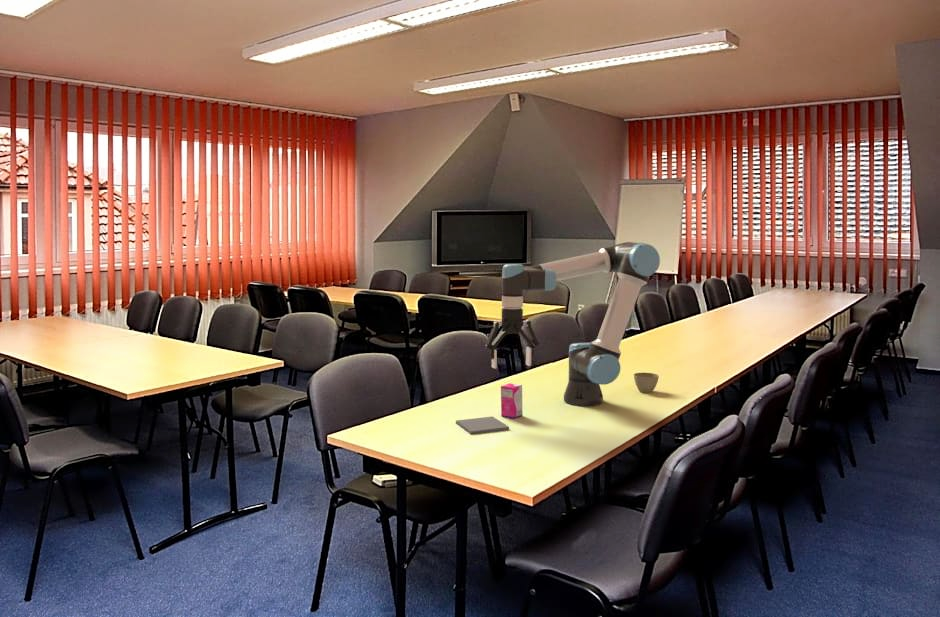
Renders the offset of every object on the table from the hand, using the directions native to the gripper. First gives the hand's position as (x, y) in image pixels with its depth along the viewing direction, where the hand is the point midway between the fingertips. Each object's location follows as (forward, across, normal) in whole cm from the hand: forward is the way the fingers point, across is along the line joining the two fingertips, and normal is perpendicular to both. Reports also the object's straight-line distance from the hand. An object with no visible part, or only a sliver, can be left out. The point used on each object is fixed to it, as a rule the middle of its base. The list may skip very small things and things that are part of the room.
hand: (511, 366), depth 264 cm
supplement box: (+18, 0, 0) cm, 19 cm away
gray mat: (+18, +15, +8) cm, 25 cm away
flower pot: (+18, -67, -13) cm, 71 cm away
